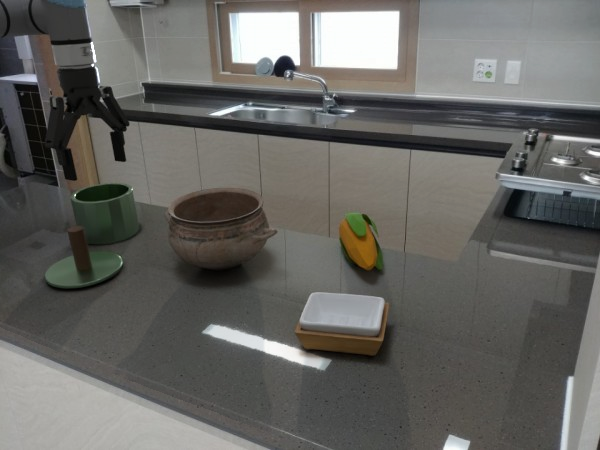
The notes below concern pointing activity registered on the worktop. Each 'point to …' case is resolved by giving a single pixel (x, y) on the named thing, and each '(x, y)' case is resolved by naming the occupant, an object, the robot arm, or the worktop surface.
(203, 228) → the cooking pot
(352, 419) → the worktop surface
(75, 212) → the tin
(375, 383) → the worktop surface
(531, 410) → the worktop surface
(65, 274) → the tin lid
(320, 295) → the soap dish
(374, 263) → the corn
